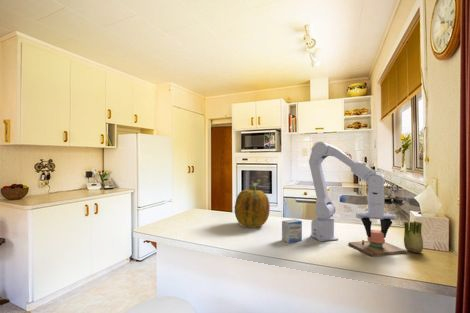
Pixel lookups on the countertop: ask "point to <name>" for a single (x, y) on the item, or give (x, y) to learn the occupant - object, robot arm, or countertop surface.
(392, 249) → the board
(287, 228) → the medicine box
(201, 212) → the countertop surface
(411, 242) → the fennel bulb
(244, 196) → the pumpkin
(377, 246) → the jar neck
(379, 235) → the lid
